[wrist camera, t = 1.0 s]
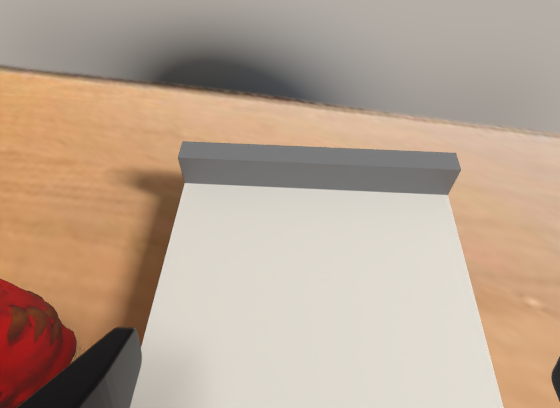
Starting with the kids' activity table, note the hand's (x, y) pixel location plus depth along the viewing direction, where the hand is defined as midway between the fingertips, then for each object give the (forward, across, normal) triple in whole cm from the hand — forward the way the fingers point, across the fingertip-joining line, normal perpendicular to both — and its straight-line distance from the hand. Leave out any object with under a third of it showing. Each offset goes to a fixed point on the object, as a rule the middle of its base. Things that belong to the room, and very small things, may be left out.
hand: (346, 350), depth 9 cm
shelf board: (+13, 0, +11) cm, 17 cm away
